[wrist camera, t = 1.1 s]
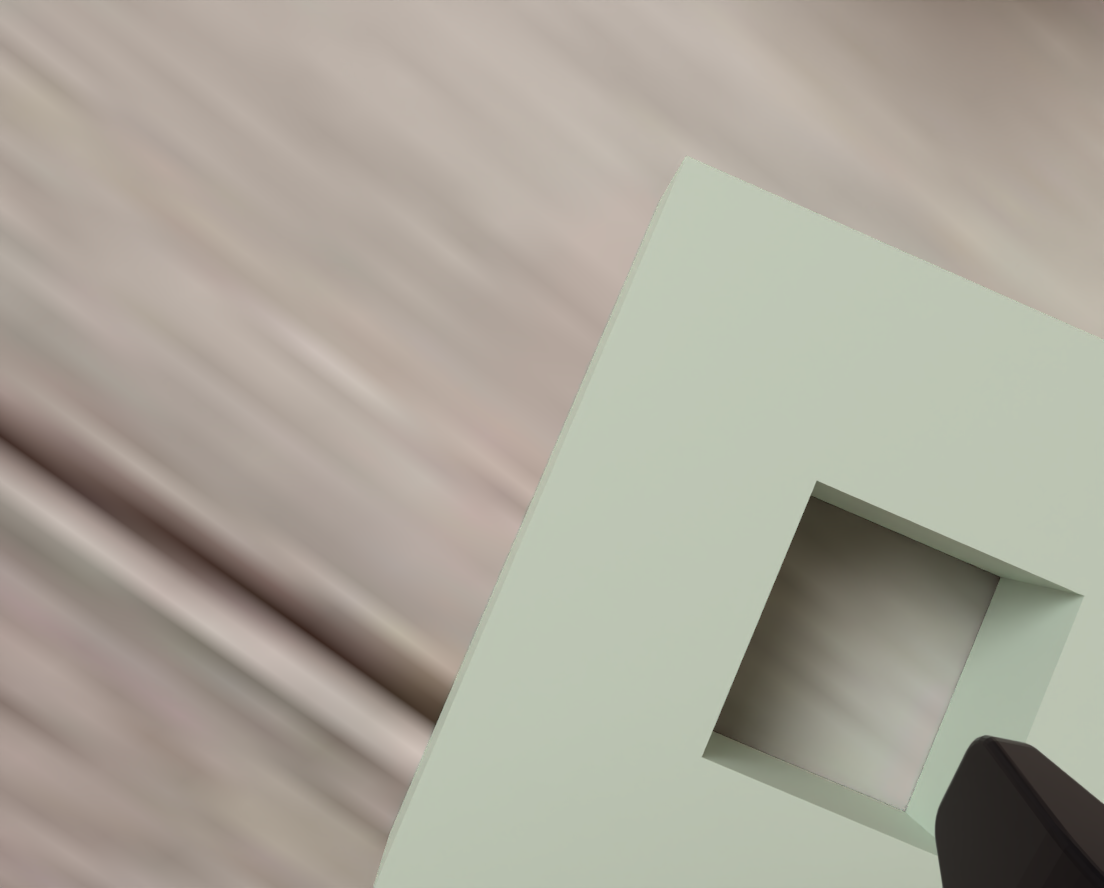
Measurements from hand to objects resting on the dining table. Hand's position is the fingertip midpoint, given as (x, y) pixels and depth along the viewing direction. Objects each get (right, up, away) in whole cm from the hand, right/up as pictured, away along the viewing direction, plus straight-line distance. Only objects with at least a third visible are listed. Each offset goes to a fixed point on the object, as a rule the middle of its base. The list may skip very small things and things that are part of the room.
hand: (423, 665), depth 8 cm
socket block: (+8, -3, +16) cm, 18 cm away
